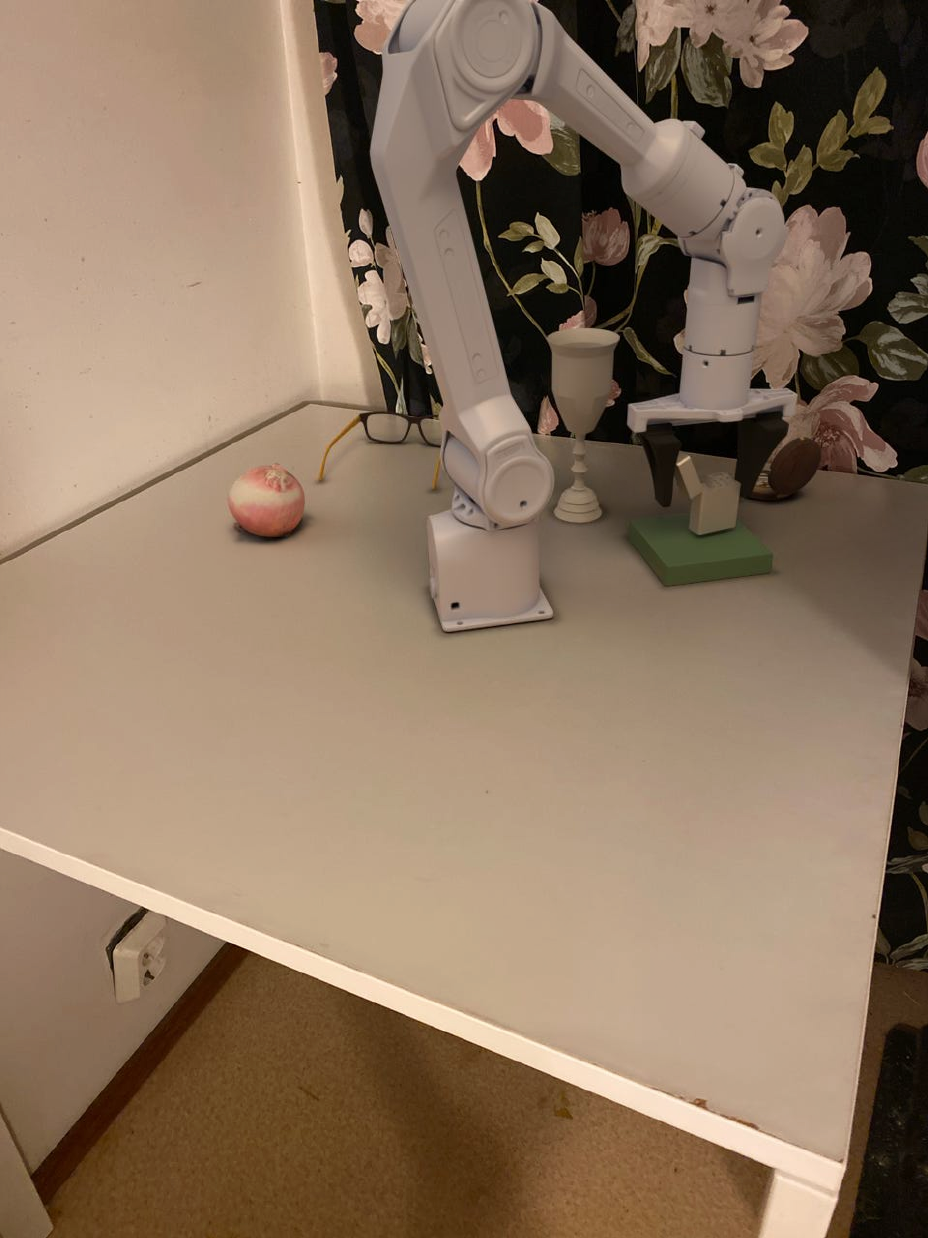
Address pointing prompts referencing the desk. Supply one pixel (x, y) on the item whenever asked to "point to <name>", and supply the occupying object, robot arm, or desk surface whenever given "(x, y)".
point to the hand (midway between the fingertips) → (702, 498)
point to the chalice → (581, 404)
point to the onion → (267, 501)
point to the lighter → (708, 497)
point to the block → (697, 550)
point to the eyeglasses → (363, 418)
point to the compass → (788, 470)
